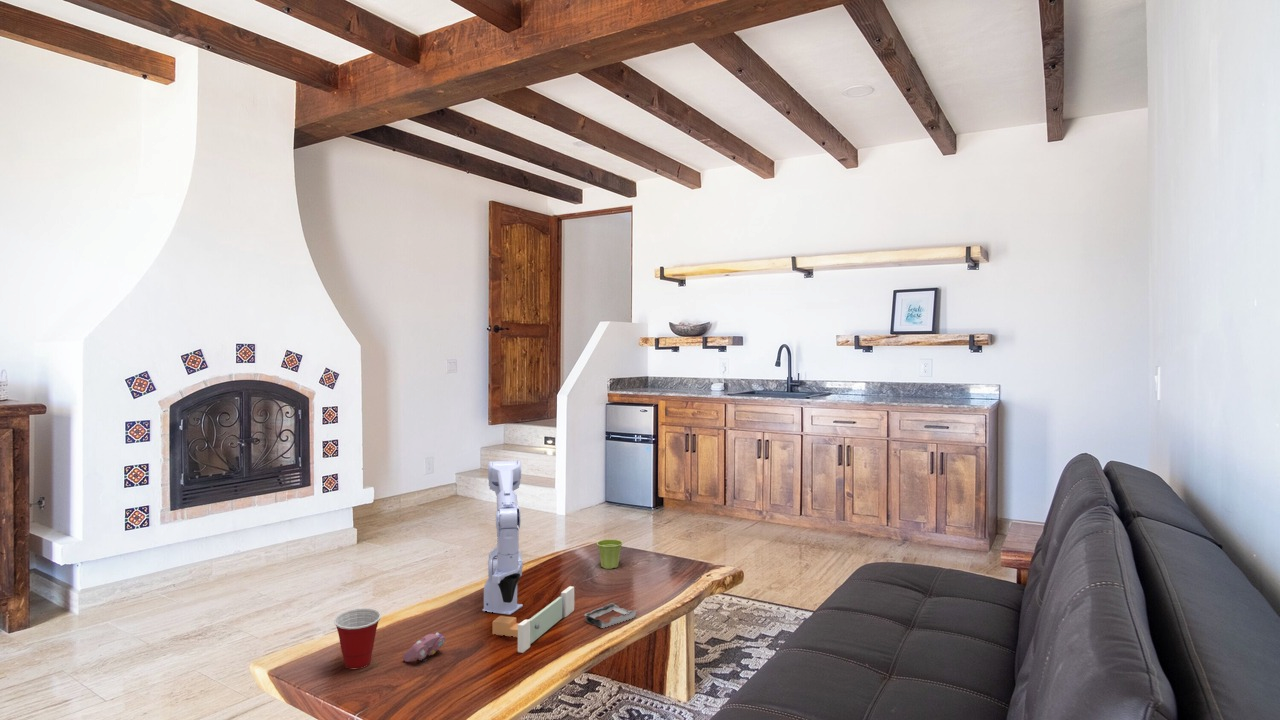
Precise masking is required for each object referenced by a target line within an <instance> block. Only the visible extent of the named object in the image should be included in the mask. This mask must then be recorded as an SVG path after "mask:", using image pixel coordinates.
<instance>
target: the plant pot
mask: <svg viewBox="0 0 1280 720" xmlns="http://www.w3.org/2000/svg"><path fill="white" fill-rule="evenodd" d="M623 543H624V542H623V541H622V540H618V539H602V540H598V541H596V545H597V549H598V553H599V558H600V567H601V568H603V569H605V570H607V569H608V570H612V569H614V568H615V569H616V568H618V567H619V563H620V555H621V548H622V545H623Z"/></svg>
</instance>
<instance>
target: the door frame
mask: <svg viewBox="0 0 1280 720" xmlns="http://www.w3.org/2000/svg"><path fill="white" fill-rule="evenodd" d="M560 596H564V618H566V617H568V616H569V615H570V614H572V612H574V611H575V586H571V585H569V586H568V587H567V588H565V589H564V590H562V591H561V593H560ZM519 623H520V624H518V637H517V653H522V654H524V653H525V652H526V651H527V650H528V649H530V648H531V644H530V620H529V619H523V620H522V621H521V622H519Z"/></svg>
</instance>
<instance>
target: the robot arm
mask: <svg viewBox="0 0 1280 720" xmlns="http://www.w3.org/2000/svg"><path fill="white" fill-rule="evenodd" d="M487 463H488V465H487V466H488V468H487V472H488V473H487V474H488V475H487V476H488V477H487V478H488V479H487V480H488V487H489V490H491V491H494V492H495V496H496V511H495V528H496V536H497V537H496V538H497V540H496V541H497V545H496V546H495V548H493V549H492V550H491V551H490V552H489V553H488V565H487V566H488V567H487V570H488V571H487V573H488V574H487V575H488V578H487V580H486V581H485V583H484V587H483V608H482V609H481V611H482V612H485V611H487V613H492V612H493V614H500V615H508V616H511V615H512V614H513V613H515V612H517V611H518V610H519V609H521V608H522V607H523V604H522V603H518V583H519V580H520V578H521V577H522V575H523V568H524V561H523V559H522V552H521V550H520V547H519V544H520V543H519V538H520V536H519V534H520V531H519V530H520V529H521V521H522V519H521V509H520V507H519V505H518V496H517V494H516V492H515V491H516V490H519V488H520V485H521V480H522V462H521V461H520V460H519V459H518V460H501V461H500V460H499V461H492V460H490V461H489V462H487Z"/></svg>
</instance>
